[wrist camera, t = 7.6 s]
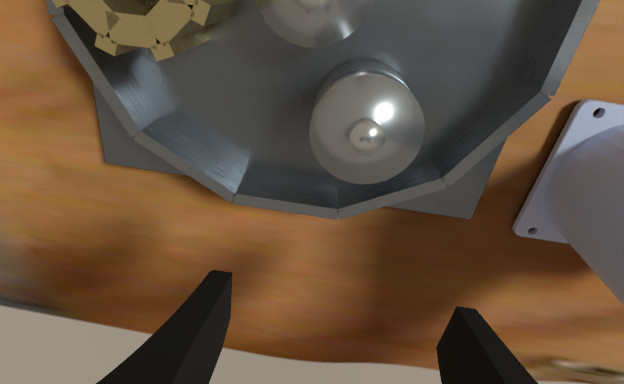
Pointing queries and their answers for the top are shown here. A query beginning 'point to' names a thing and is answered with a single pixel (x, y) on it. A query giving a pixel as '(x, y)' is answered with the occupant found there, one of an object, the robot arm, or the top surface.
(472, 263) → the top surface
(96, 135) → the top surface
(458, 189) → the carrier
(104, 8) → the gear
